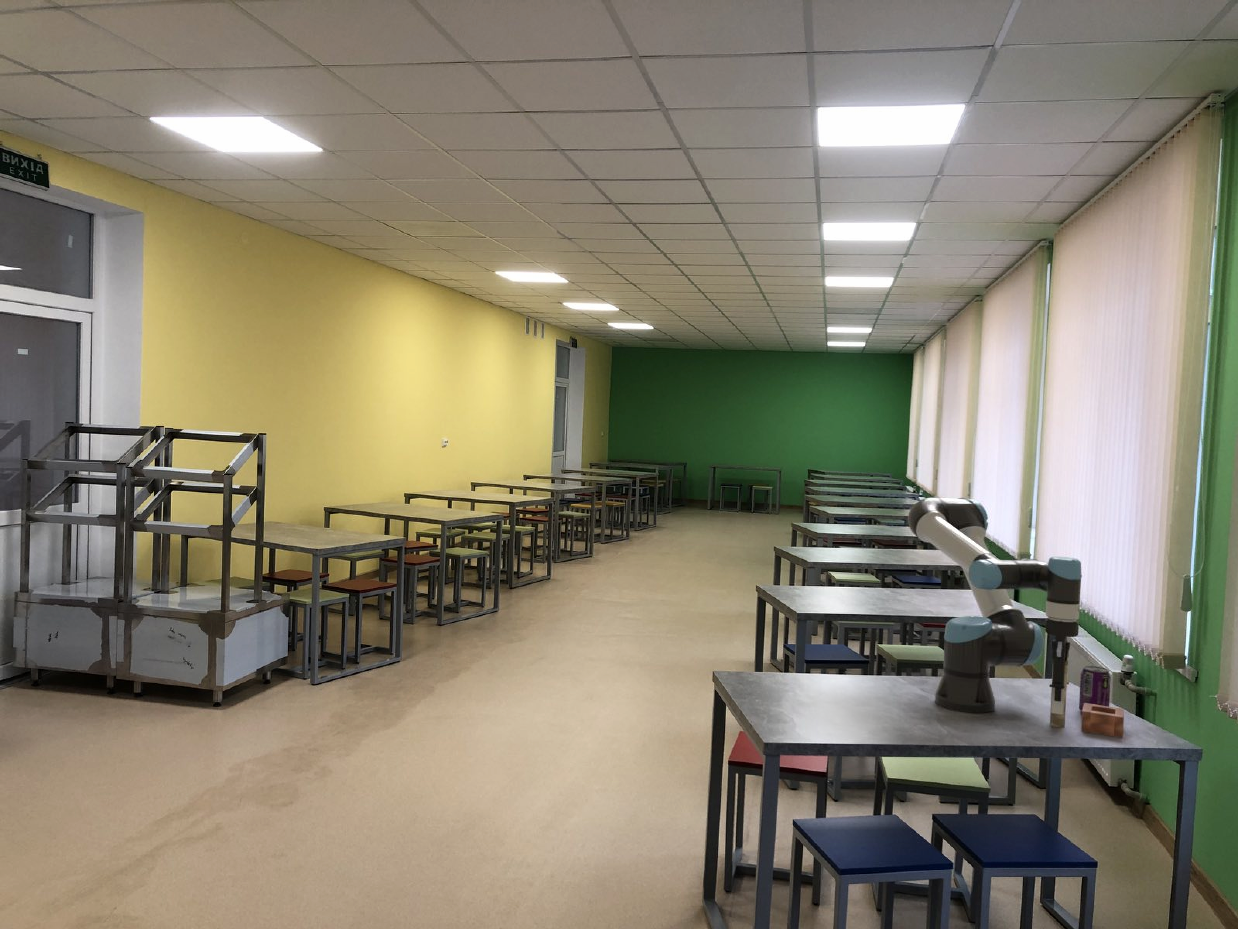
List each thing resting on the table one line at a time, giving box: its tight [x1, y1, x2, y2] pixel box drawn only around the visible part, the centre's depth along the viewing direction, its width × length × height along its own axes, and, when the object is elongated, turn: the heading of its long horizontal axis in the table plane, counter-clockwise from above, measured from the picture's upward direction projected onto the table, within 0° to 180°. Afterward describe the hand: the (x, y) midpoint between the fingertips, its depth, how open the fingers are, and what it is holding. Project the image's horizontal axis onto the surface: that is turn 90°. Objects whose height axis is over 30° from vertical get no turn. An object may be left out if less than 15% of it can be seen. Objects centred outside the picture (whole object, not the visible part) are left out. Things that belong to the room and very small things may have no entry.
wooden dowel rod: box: [1049, 659, 1069, 729], centre depth 232 cm, size 4×4×18 cm
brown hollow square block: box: [1080, 703, 1125, 739], centre depth 230 cm, size 9×9×5 cm
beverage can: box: [1078, 665, 1111, 712], centre depth 245 cm, size 7×7×12 cm
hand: (1057, 711), depth 232 cm, fingers closed on wooden dowel rod, 3 cm apart
